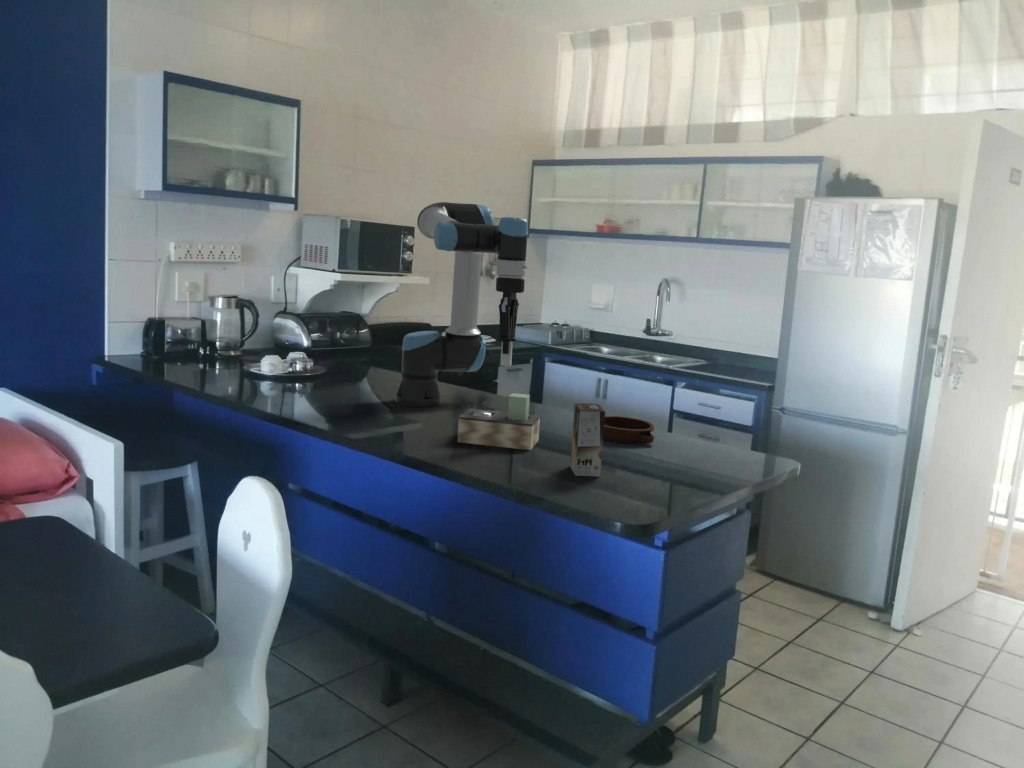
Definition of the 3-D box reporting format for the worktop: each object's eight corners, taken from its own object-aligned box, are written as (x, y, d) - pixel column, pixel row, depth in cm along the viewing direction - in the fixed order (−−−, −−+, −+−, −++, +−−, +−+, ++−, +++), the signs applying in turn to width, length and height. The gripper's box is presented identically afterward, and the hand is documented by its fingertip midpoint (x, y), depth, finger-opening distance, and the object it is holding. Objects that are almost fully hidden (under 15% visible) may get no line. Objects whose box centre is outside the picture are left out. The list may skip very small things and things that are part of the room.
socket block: (457, 442, 222) (458, 416, 221) (469, 432, 234) (470, 408, 233) (530, 450, 218) (532, 424, 217) (538, 440, 230) (540, 415, 229)
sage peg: (507, 421, 222) (508, 396, 221) (511, 418, 227) (512, 393, 226) (524, 423, 221) (526, 397, 220) (528, 419, 226) (529, 394, 225)
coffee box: (601, 477, 197) (606, 411, 194) (574, 476, 197) (579, 410, 194) (594, 466, 206) (599, 403, 203) (568, 465, 206) (573, 402, 203)
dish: (631, 451, 225) (633, 433, 224) (572, 434, 240) (573, 417, 240) (670, 443, 236) (672, 426, 235) (611, 427, 252) (613, 411, 251)
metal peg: (469, 438, 225) (471, 413, 224) (474, 434, 230) (475, 409, 229) (487, 440, 224) (489, 415, 223) (492, 436, 229) (493, 411, 228)
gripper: (519, 278, 211) (513, 369, 215) (529, 277, 224) (524, 363, 227) (490, 276, 213) (485, 367, 217) (502, 275, 225) (498, 361, 229)
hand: (505, 365), depth 222 cm, fingers closed
